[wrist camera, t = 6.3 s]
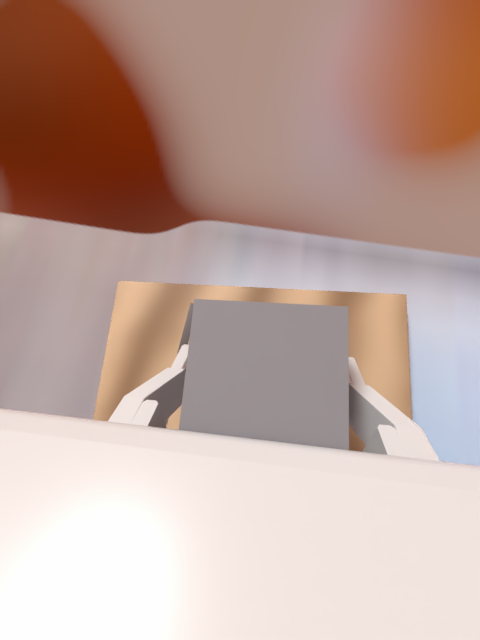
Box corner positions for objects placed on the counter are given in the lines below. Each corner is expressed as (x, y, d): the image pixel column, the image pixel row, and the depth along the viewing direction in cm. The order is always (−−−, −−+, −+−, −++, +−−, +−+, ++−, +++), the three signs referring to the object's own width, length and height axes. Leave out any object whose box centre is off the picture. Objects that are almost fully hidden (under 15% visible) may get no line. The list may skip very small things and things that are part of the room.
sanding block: (301, 336, 16) (348, 306, 7) (298, 410, 15) (348, 483, 6) (231, 332, 16) (194, 298, 8) (225, 403, 16) (175, 458, 7)
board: (394, 300, 17) (406, 294, 16) (399, 469, 15) (414, 480, 14) (129, 286, 20) (118, 280, 18) (104, 431, 18) (89, 437, 16)
